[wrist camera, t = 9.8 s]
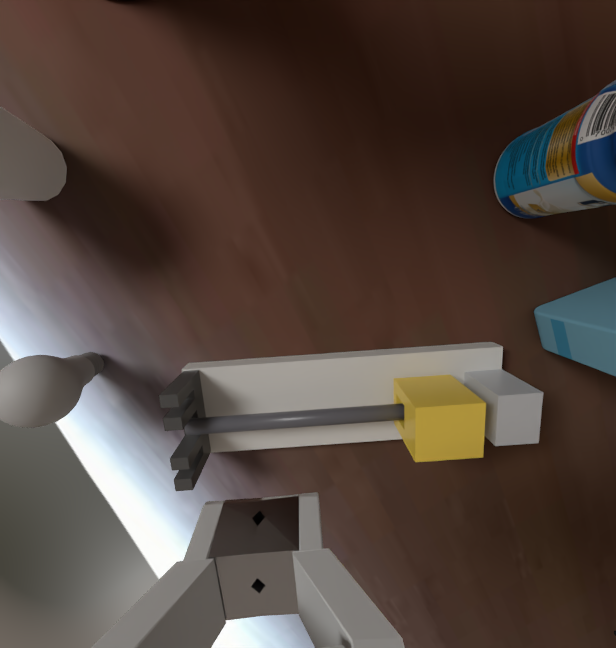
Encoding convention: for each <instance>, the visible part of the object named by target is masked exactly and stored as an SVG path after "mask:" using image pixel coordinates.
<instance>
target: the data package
mask: <svg viewBox="0 0 616 648" xmlns="http://www.w3.org/2000/svg"><path fill="white" fill-rule="evenodd" d="M534 315H535V319H536V323H537V327H538V331H539V336H540V340H541V344H542V347H543V348H544V349H545V350H548V351H550V352H553V353H556V354H558V355H561V356H563V357H566V358H569V359H571V360H574V361H576V362H579V363H582V364H584V365H587V366H590V367H592V368H595V369H597V370H600V371H603V372H605V373H608V374H610V375H613V376H616V277H615V278H612V279H610V280H607V281H604V282H602V283H599V284H596V285H594V286H591V287H588V288H586V289H583V290H580V291H578V292H575V293H572V294H570V295H567V296H564V297H562V298H559V299H557V300H554V301H551V302H549V303H546V304H543V305H541V306H539V307H537V308H536V309H535V310H534Z"/></svg>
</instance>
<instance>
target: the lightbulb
mask: <svg viewBox="0 0 616 648" xmlns="http://www.w3.org/2000/svg"><path fill="white" fill-rule="evenodd" d="M103 367H104V362H103V359H102V358H101V357H100V356H99V355H98V354H96V353H93V352H88V353H85V354H82V355H79V356H78V355H75V356H71V357H68V358H59V357H54V356H48V355H35V356H28V357H24V358H21V359H19V360H16V361H13V362H12V363H10V364H9V365H7V366H6V367H4V368H3V369H2V370H1V371H0V420H2V421H3V422H5V423H7V424H10V425H13V426H17V427H22V428H35V427H41V426H46V425H49V424H51V423H54V422H56V421H58V420H60V419H61V418H63V417H64V416H66V415H67V414H68V413H69V412H70V411H71V410H72V409H73V408H74V407H75V406H76V404H77V402H78V401H79V398H80V396H81V393H82V389H83V387H84V386H85V385H86V384H87V383H89V382H90V381H91V380H92V379H93V377H94V376H96V375H97V374H98V373H100V372H101V371H102V370H103Z"/></svg>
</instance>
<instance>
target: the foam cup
mask: <svg viewBox="0 0 616 648" xmlns="http://www.w3.org/2000/svg"><path fill="white" fill-rule="evenodd" d="M66 174H67V166H66V163H65V161H64V158H63V155H62V152H61V151H60V150H59V149H58V148H57V146H56V145H55V144H54V143H53V142H52V141H51V140H50V139H48V138H47V137H46V136H45V135H43V134H42V133H40V132H39V131H37V130H36V129H34V128H33V127H31V126H30V125H28V124H27V123H25V122H23V121H22V120H20V119H19V118H17V117H16V116H14V115H13V114H11V113H10V112H8V111H7V110H5V109H4V108H2V107H1V106H0V199H3V200H24V201H47V200H49V199H51V198H53V197H55V196H57V195H58V194H59V193H60V191H61V190H62V188H63V186H64V185H65V183H66Z"/></svg>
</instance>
